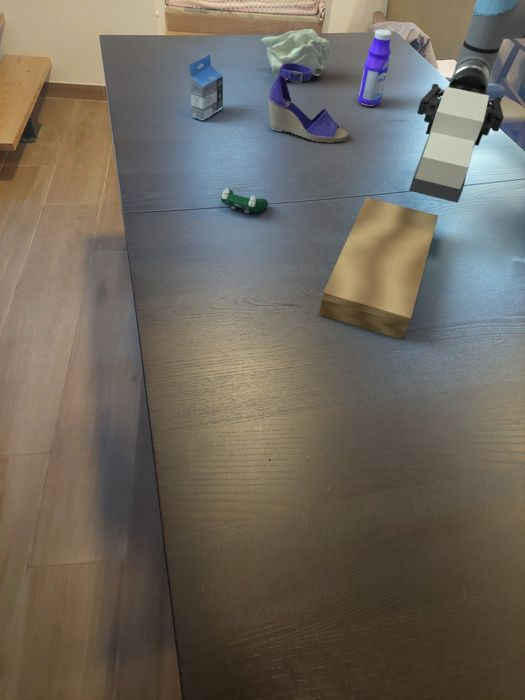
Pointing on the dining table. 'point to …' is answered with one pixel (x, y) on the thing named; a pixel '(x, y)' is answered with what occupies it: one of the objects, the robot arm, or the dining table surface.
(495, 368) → the dining table surface
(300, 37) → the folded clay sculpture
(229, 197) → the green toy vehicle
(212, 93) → the ink cartridge box
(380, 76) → the bottle
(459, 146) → the white two-tier block
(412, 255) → the wooden base slab
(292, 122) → the sandal
